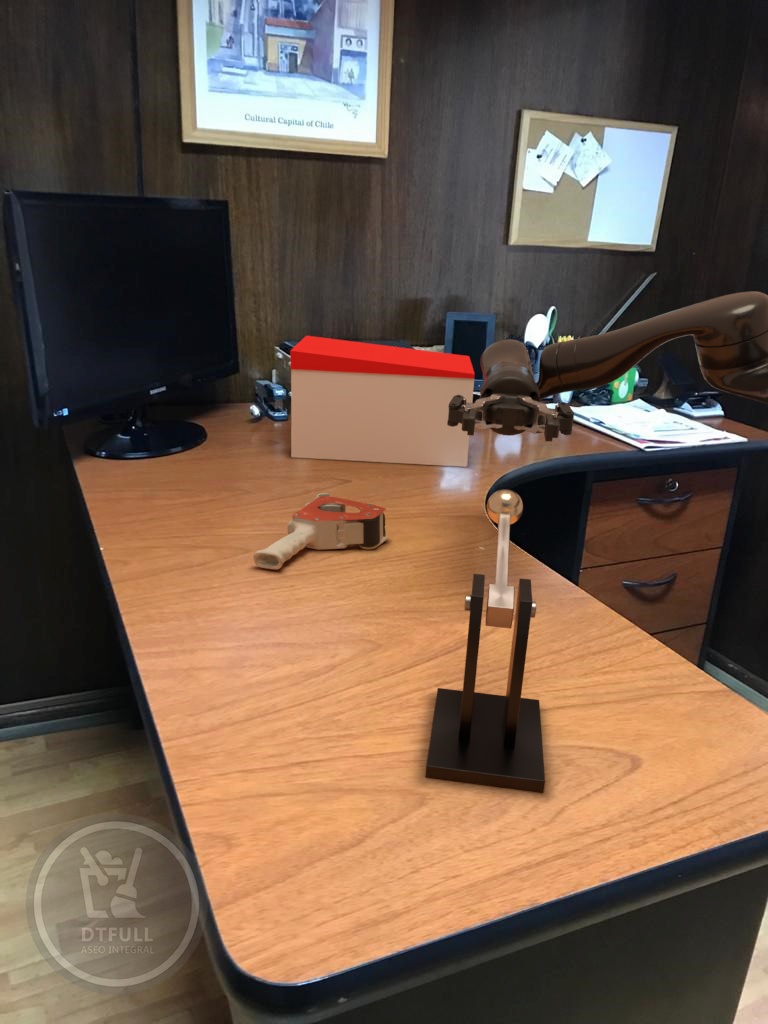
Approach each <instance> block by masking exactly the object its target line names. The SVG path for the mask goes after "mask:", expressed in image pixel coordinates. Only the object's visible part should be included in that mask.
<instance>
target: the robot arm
mask: <svg viewBox="0 0 768 1024" xmlns="http://www.w3.org/2000/svg"><path fill="white" fill-rule="evenodd" d="M686 336H687V337H688V336H692V337H693V341H694V346H695V350H696V356H697V361H698V364H699V369H700V372H701V374H702V377H703V379H704V380H705V382H706V383H707V384H709V385H710V386H711V387H713V388H715V389H717V390H719V391H722V392H725V393H728V394H732V395H734V396H738V397H741V398H746V399H750V400H752V401H756V402H760V403H763V404H765V405H768V294H766V293H764V292H761V291H751V290H749V291H740V292H733V293H729V294H724V295H721V296H717V297H713V298H708V299H706V300H702V301H700V302H697V303H694V304H689V305H687V306H684V307H681V308H678V309H675V310H672V311H668V312H666V313H662V314H659V315H656V316H653V317H650V318H647V319H645V320H642V321H639V322H636V323H633V324H630V325H628V326H624V327H622V328H618V329H614V330H611V331H608V332H603V333H600V334H595V335H590V336H586V337H585V336H584V337H579V338H574V339H570V340H565V341H558V342H555V343H551V344H548V345H547V346H545V347H544V348H543V349H542V351H541V353H540V357H539V365H538V366H539V367H538V380H537V382H536V380H535V376H534V372H533V367H532V362H531V358H530V354H529V350H528V347H527V346H526V345H525V344H524V343H523V342H521V341H520V340H516V339H510V338H509V339H507V338H506V339H501V340H497V341H495V342H493V343H492V344H490V345H488V346H487V347H486V348H485V349H484V351H483V352H482V354H481V356H480V359H479V360H480V361H479V362H480V367H481V372H482V376H483V384H482V385H481V387H480V391H479V394H480V395H479V398H478V399H476V400H475V401H474V402H472V403H467V402H466V398H464V397H463V396H461V395H456V396H454V397H453V398H452V400H451V401H450V403H449V407H448V408H449V413H448V421H447V425H449V426H451V427H454V426H457V425H458V423H461V424H462V430H463V431H468V432H467V435H470V437H471V436H472V437H474V434H475V429H478V430H482V431H484V430H488V429H489V430H491V431H492V432H494V433H495V434H498V435H501V436H508V437H509V436H517V435H520V434H523V433H524V432H528V433H530V434H534V435H535V434H543V435H544V441H545V442H553V439H558V438H559V434H561V435H563V436H571V435H572V433H573V426H574V418H575V412H574V410H573V409H572V408H571V406H570V404H569V403H567V402H565V401H561V402H558V403H557V404H556V405H555V406H554V408H548V406H547V404H546V403H543V402H541V401H542V400H544V399H546V398H549V397H552V396H555V395H558V394H562V393H568V392H574V391H582V390H589V389H595V388H599V387H603V386H605V385H608V384H611V383H613V382H615V381H617V380H618V379H620V378H622V377H623V376H625V375H626V374H627V373H628V372H629V371H630V370H632V369H633V368H635V366H636V365H637V364H638V363H640V362H641V361H642V360H644V359H645V358H646V357H647V356H648V355H649V354H650V353H652V352H653V351H655V350H656V349H657V348H659V347H660V346H662V345H664V344H666V343H667V342H670V341H673V340H675V339H678V338H683V337H686Z"/></svg>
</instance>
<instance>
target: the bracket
mask: <svg viewBox="0 0 768 1024" xmlns="http://www.w3.org/2000/svg"><path fill="white" fill-rule="evenodd" d="M485 581H486V575H485V574H480V573H473V575H472V584H471V585H472V586H471V594H465V598H464V608H463V609H464V611H466V612H469V619H468V630H467V643H466V653H465V661H464V662H465V663H464V674H463V685H462V690H461V689H460V690H459V689H450V688H442V687H437V689H436V690H437V691H436V696H435V704H434V710H433V717H432V725H431V731H430V738H429V739H430V740H429V745H428V751H427V758H426V765H425V778H431V779H439V780H445V781H453V782H461V783H467V784H475V785H483V786H489V787H491V786H493V787H498V788H505V789H512V790H513V789H514V790H521V791H528V792H534V793H535V792H537V793H544V792H545V786H546V777H545V776H546V775H545V762H544V746H543V733H542V721H541V719H542V718H541V705H540V700H539V699H534V698H528V697H527V698H525V697H522V691H523V683H524V675H525V666H526V660H527V650H528V643H529V642H528V641H529V635H530V627H531V619H535V618H536V614H537V601H535V600H533V590H532V589H533V588H532V579H531V578H530V579H529V578H519V579H518V587H517V595H516V605H515V612H514V615H515V616H514V621H513V629H512V630H513V631H512V639H511V649H510V657H509V666H508V675H507V682H506V683H507V684H506V690H505V691H506V692H505V695H501V694H493V693H484V692H475V689H476V680H477V669H478V660H479V659H478V658H479V649H480V638H481V628H482V619H483V618H482V617H483V608H484V607H483V606H484V599H485V598H484V596H485V583H486V582H485Z"/></svg>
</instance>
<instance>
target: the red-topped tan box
mask: <svg viewBox="0 0 768 1024" xmlns="http://www.w3.org/2000/svg"><path fill="white" fill-rule="evenodd" d="M289 352H290V353H289V355H290V356H289V359H290V360H289V361H290V365H289V368H290V380H291V381H290V395H291V396H290V402H291V403H290V415H291V416H290V418H291V419H290V424H291V426H290V427H291V428H290V429H291V431H290V432H291V433H290V434H291V435H290V437H291V438H290V439H291V441H290V443H291V445H290V449H291V450H290V455H291V458H296V459H297V458H298V459H299V458H300V459H314V460H315V459H318V460H337V461H351V462H353V461H355V462H371V463H372V462H373V463H388V464H389V463H390V464H408V465H425V466H426V465H428V466H444V467H445V466H446V467H462V468H468V460H469V447H470V437H471V435H467V432H468V431H463V430H462V424H461V423H458V425H457V426H454V427H451V426H449V425H447V421H448V413H449V408H448V407H449V403H450V401H451V400H452V398H453V397H454V396H456V395H461V396H463V397H464V398H466V402H467V403H473V399H474V388H475V375H476V374H475V371H474V367H473V364H472V361H471V358H470V356H469V355H464V354H455V353H447V352H439V351H433V350H425V349H424V350H423V349H415V348H407V347H400V346H392V345H385V344H375V343H367V342H360V341H352V340H344V339H335V338H329V337H320V336H314V335H313V336H312V335H305V336H304V337H303V338H302V339H301V340H300V341H299V342H298V343H296V345H294V347H292V348H291V349H290V351H289Z"/></svg>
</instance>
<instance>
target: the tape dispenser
mask: <svg viewBox="0 0 768 1024" xmlns="http://www.w3.org/2000/svg"><path fill="white" fill-rule="evenodd" d="M347 506H349V507H352V508H357V509H358V510H359V512H347V511H346V510H347V509H346V507H347ZM385 511H387V508H385V507H382V506H379V505H376V504H374V503H366V502H362V501H357V500H351V499H346V498H340V497H337V496H332V495H331V494H330V493H329V492H328V493H327V492H322V493H318V494H316V497H315V498H313V500H311V501H309V502H306V503H305V504H304V507H303V508H301V509H300V510H298V511H296V512H294V513H293V514H292V515H291V520H290V521H289V522H288V523H287V525H286V526H287V527H286V528H287V535H285V536H283V537H281V538H280V539H278V540H276V541H275V542H273V543H272V544H270V545H269V546H268V547H265V548H264V549H259V550H256V551H255V552H254V553H253V558H252V559H253V563H254V564H255V565H256V566H257V567H259V568H261V569H267V570H279V569H281V568H282V567H283V565H284V563H285V562H286V561H288V560H290V559H291V558H292V557H293V556H295V555H296V554H298V552H300V551H301V550H303V549H304V548H309V549H313V550H319V551H320V550H338V549H346V548H347V547H348V546H349V545H358V546H359V548H360V549H363V550H374V549H376V548H378V547H379V546H381V545H382V544H383V543H384V542H386V541H387V540H388V537H387V536H386V514H385V513H384V512H385Z"/></svg>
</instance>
